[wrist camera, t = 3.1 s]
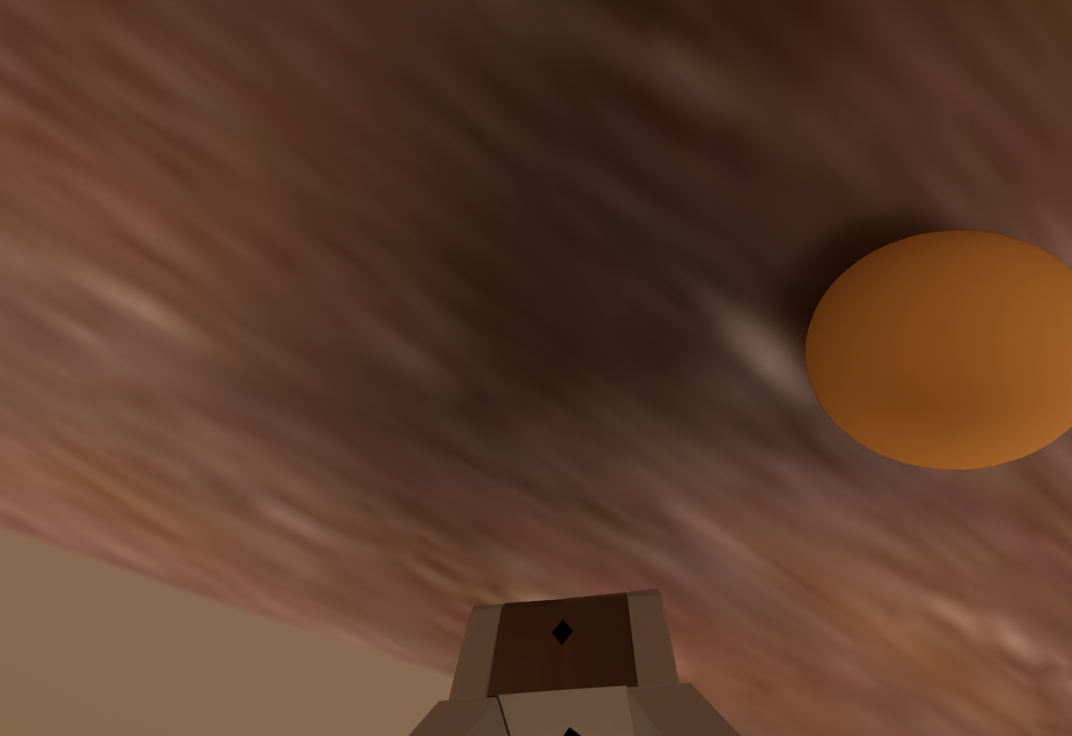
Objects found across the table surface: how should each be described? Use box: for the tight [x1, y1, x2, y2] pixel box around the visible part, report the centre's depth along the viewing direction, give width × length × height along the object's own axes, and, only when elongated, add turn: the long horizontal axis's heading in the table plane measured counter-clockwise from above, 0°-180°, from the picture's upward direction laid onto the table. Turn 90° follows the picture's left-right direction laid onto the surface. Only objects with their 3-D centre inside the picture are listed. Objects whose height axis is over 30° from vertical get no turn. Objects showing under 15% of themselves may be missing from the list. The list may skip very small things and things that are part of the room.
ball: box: [805, 230, 1072, 470], centre depth 13 cm, size 6×6×6 cm
